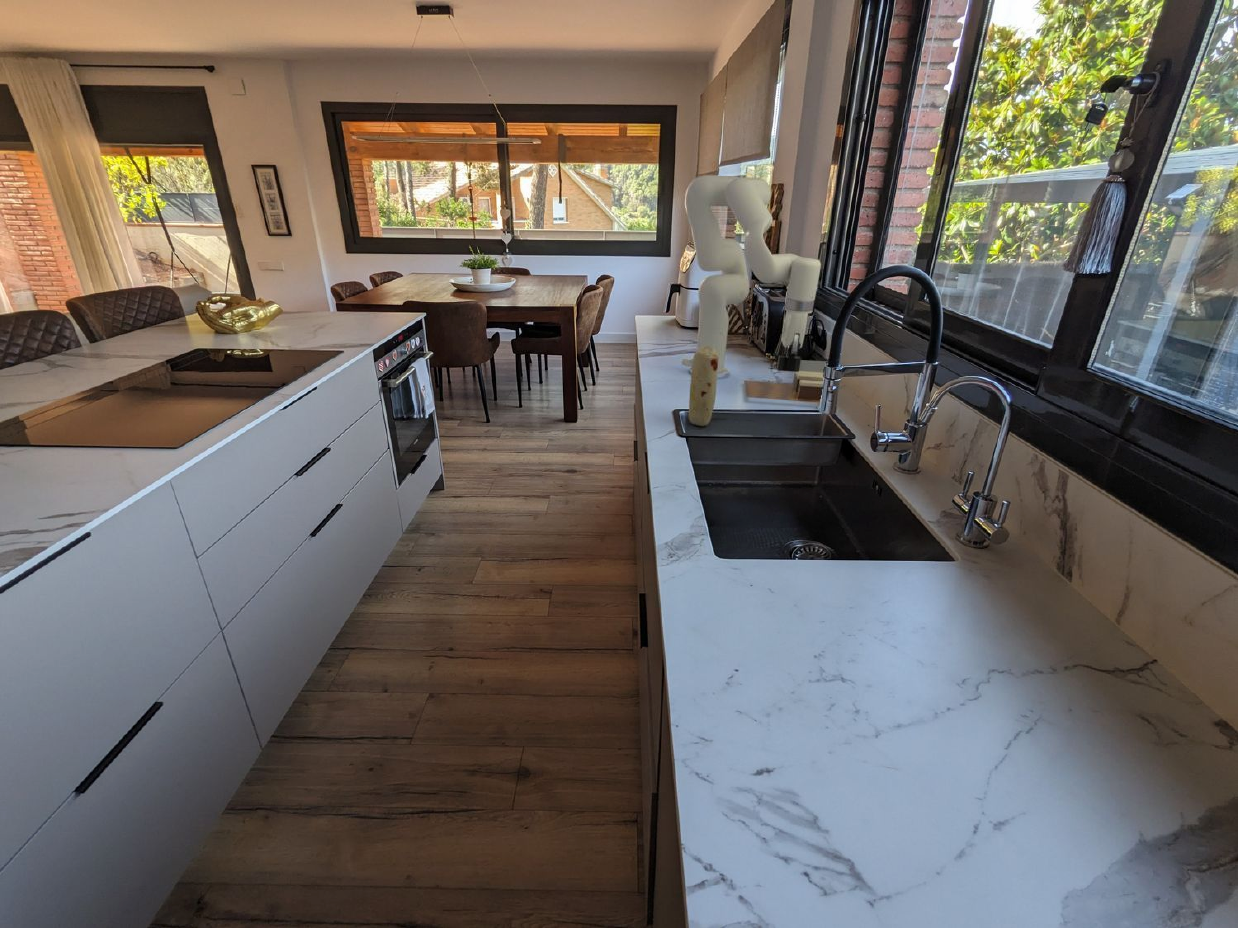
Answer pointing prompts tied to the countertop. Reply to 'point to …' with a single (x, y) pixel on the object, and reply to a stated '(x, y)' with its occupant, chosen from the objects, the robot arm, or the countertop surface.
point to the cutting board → (772, 391)
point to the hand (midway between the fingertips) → (787, 368)
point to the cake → (806, 377)
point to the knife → (802, 365)
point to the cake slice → (810, 389)
